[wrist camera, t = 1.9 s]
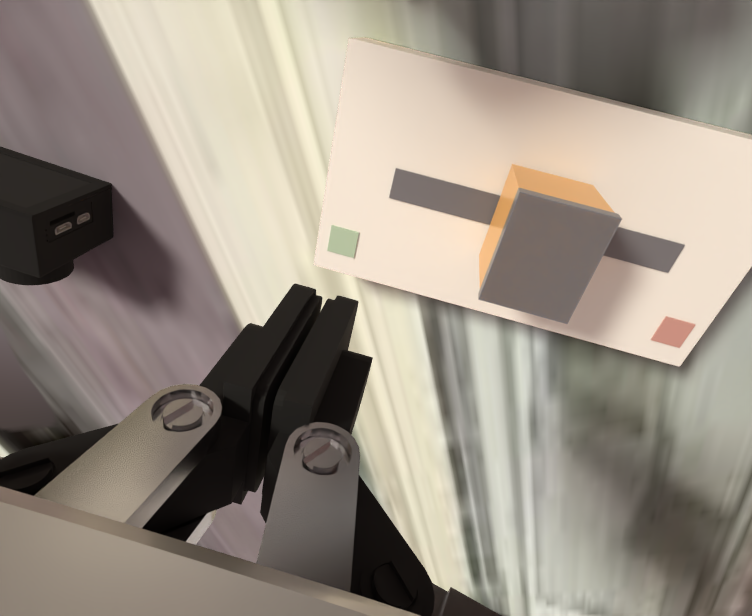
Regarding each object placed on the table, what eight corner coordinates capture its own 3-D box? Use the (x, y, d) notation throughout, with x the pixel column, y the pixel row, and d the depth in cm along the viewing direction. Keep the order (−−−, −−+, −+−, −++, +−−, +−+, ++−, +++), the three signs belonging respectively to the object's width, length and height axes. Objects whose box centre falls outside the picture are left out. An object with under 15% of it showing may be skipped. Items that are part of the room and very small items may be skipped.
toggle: (594, 184, 23) (622, 218, 18) (551, 275, 25) (567, 324, 21) (511, 162, 23) (519, 191, 18) (477, 255, 25) (478, 299, 21)
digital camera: (-15, 208, 35) (-114, 243, 29) (-29, 136, 32) (-142, 159, 27) (115, 252, 35) (41, 296, 29) (112, 183, 32) (30, 216, 26)
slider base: (778, 141, 24) (830, 159, 20) (656, 329, 30) (680, 367, 27) (365, 37, 25) (348, 37, 22) (330, 240, 31) (312, 265, 28)
